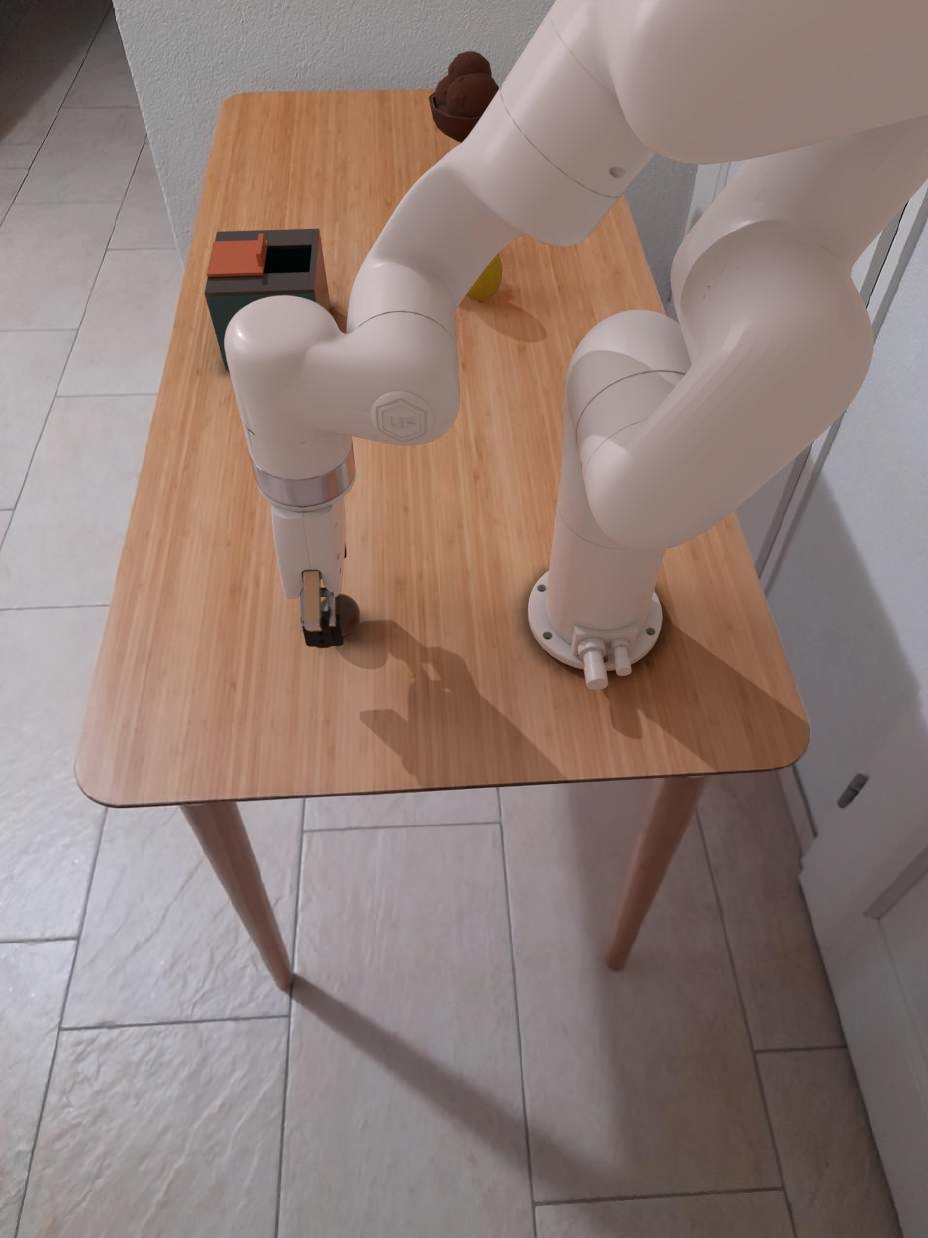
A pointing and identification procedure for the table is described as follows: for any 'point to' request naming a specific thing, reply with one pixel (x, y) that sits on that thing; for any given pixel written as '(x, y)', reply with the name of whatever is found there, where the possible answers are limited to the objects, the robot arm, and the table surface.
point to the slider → (238, 258)
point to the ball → (345, 612)
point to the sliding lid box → (270, 276)
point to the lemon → (487, 281)
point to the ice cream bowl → (463, 95)
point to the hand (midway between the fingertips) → (327, 598)
